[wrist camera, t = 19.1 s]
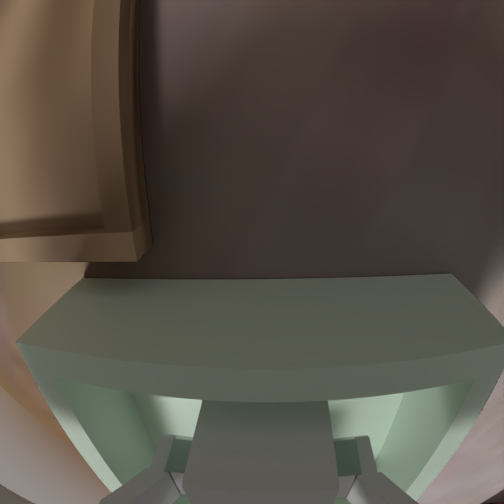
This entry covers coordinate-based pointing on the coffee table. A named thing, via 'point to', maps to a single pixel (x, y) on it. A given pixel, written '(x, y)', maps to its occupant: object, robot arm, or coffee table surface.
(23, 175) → the walnut tray
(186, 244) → the coffee table surface
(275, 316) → the green bin
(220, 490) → the stone cube
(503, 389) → the coffee table surface
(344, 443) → the robot arm
